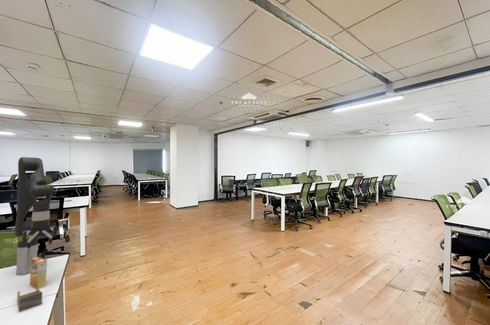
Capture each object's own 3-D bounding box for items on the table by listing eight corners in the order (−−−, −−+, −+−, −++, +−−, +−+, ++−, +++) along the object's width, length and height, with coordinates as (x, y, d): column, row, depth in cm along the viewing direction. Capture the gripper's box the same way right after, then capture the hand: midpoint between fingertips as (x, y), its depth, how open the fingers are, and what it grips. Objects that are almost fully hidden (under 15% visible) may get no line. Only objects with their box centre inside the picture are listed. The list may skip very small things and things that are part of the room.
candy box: (29, 285, 122) (30, 258, 122) (38, 281, 126) (39, 256, 126) (36, 289, 118) (38, 262, 119) (46, 285, 122) (47, 259, 122)
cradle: (17, 298, 110) (17, 287, 110) (38, 292, 116) (38, 281, 116) (19, 311, 100) (19, 299, 100) (41, 304, 106) (42, 292, 106)
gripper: (55, 215, 131) (54, 241, 130) (22, 219, 120) (21, 248, 120) (58, 217, 126) (56, 244, 126) (23, 222, 115) (22, 251, 115)
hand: (39, 246), depth 123 cm, fingers open, 8 cm apart
